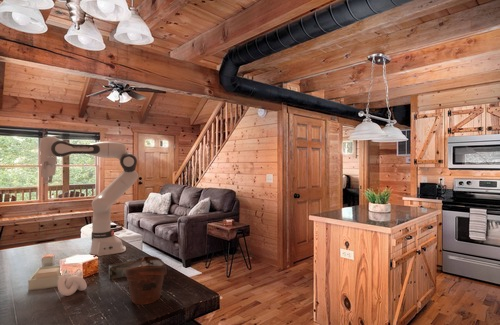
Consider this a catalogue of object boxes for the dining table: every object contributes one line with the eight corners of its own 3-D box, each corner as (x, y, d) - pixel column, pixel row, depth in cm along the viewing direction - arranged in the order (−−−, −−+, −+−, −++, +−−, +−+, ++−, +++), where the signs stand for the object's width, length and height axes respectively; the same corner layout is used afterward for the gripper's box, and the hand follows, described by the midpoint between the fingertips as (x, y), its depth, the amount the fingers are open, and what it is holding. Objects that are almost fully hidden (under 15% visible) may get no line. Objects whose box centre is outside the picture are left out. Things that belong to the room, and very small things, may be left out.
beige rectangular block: (59, 279, 153) (59, 267, 152) (57, 284, 147) (57, 271, 147) (39, 282, 149) (39, 269, 149) (35, 287, 144) (35, 273, 144)
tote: (69, 273, 163) (69, 264, 163) (62, 286, 147) (62, 276, 146) (39, 276, 158) (39, 267, 158) (28, 290, 141) (28, 280, 141)
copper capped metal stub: (54, 270, 167) (54, 253, 167) (52, 273, 162) (52, 256, 162) (44, 271, 165) (44, 254, 165) (41, 274, 161) (41, 257, 160)
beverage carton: (108, 274, 162) (108, 262, 162) (144, 268, 172) (144, 257, 171) (109, 279, 155) (109, 267, 155) (147, 273, 164) (147, 261, 164)
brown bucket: (151, 284, 149) (151, 249, 149) (175, 297, 137) (175, 259, 136) (116, 298, 135) (116, 259, 135) (139, 313, 123) (139, 270, 122)
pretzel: (61, 288, 145) (61, 270, 144) (89, 284, 149) (89, 267, 149) (55, 298, 134) (55, 279, 134) (85, 294, 138) (85, 275, 138)
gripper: (50, 161, 180) (50, 184, 180) (57, 161, 198) (57, 181, 199) (37, 161, 177) (37, 184, 177) (46, 161, 196) (46, 182, 196)
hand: (48, 183), depth 188 cm, fingers open, 8 cm apart
